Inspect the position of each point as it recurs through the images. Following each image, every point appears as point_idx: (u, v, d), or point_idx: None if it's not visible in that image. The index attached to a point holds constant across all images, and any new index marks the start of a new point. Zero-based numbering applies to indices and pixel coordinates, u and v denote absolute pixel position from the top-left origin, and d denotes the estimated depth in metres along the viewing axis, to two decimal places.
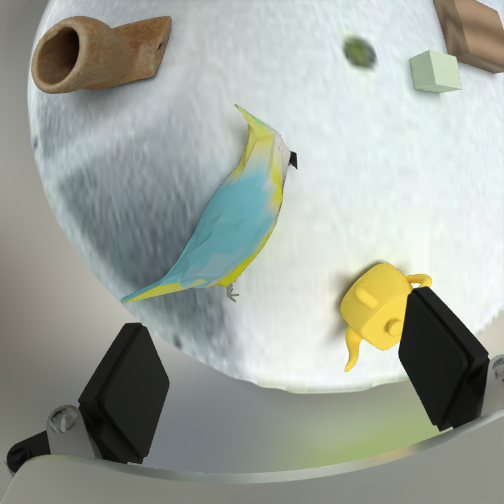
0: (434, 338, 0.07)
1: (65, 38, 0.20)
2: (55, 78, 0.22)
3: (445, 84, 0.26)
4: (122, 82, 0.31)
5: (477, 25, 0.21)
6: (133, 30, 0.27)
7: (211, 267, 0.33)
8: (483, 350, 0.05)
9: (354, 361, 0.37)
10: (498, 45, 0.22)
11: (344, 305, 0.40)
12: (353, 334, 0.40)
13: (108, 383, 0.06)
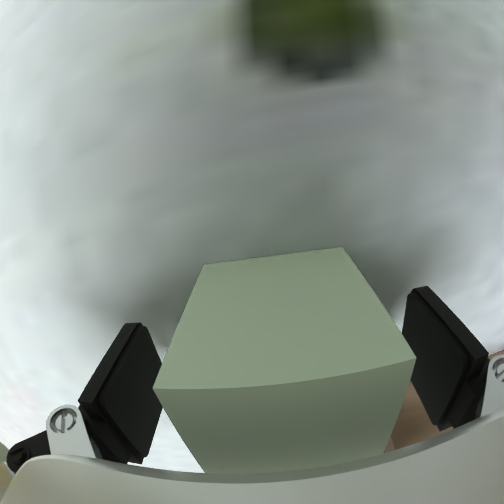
0: (434, 338, 0.07)
1: None
2: None
3: (188, 437, 0.05)
4: None
5: None
6: None
7: None
8: (483, 351, 0.05)
9: None
10: None
11: None
12: None
13: (108, 383, 0.06)
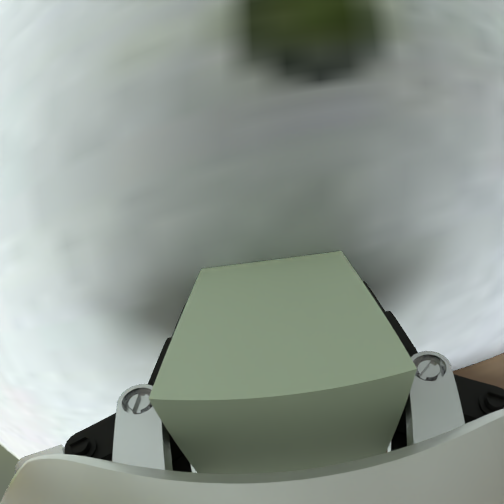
0: None
1: None
2: None
3: (185, 446, 0.05)
4: None
5: None
6: None
7: None
8: None
9: None
10: None
11: None
12: None
13: None
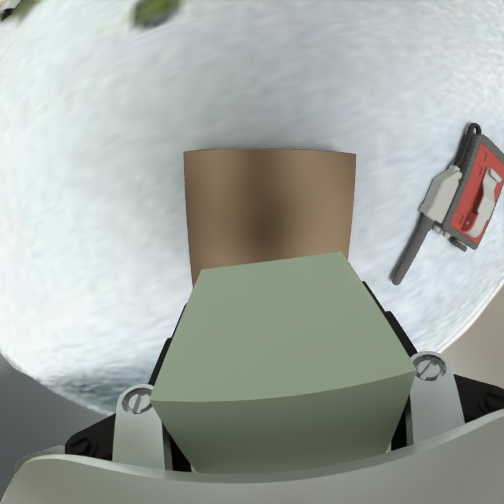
0: None
1: None
2: None
3: (185, 446, 0.05)
4: None
5: (270, 206, 0.20)
6: None
7: None
8: (402, 345, 0.06)
9: None
10: None
11: None
12: None
13: None
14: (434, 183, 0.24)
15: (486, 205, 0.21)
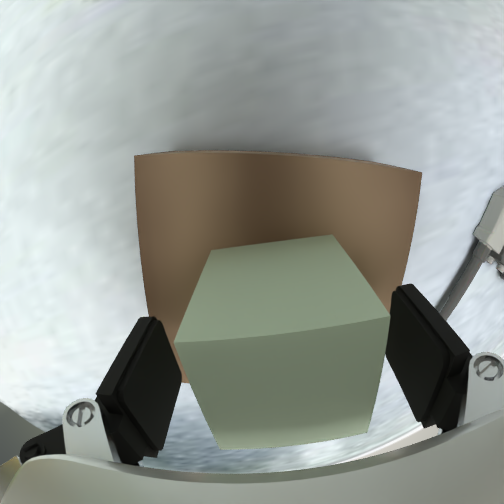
0: (416, 335, 0.07)
1: None
2: None
3: (200, 392, 0.07)
4: None
5: None
6: None
7: None
8: (464, 347, 0.05)
9: None
10: None
11: None
12: None
13: (126, 375, 0.07)
14: (494, 200, 0.15)
15: None
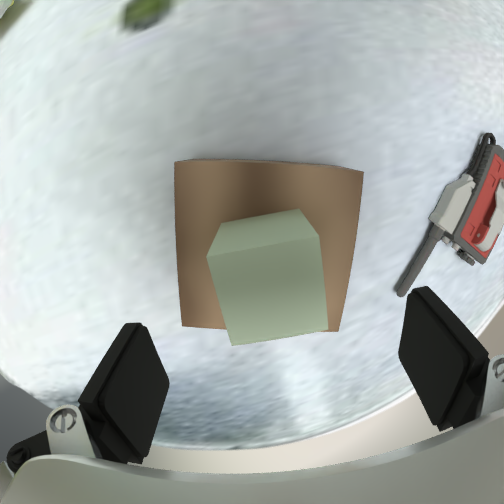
0: (434, 338, 0.07)
1: None
2: None
3: (219, 291, 0.13)
4: None
5: None
6: None
7: None
8: (483, 350, 0.05)
9: None
10: None
11: None
12: None
13: (108, 383, 0.06)
14: (446, 191, 0.22)
15: (498, 218, 0.19)
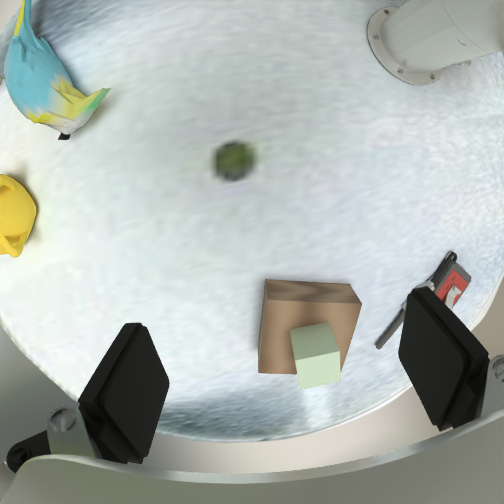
0: (434, 338, 0.07)
1: None
2: None
3: (298, 371, 0.30)
4: None
5: None
6: None
7: (6, 62, 0.20)
8: (483, 351, 0.05)
9: None
10: (288, 356, 0.37)
11: None
12: None
13: (108, 383, 0.06)
14: None
15: None
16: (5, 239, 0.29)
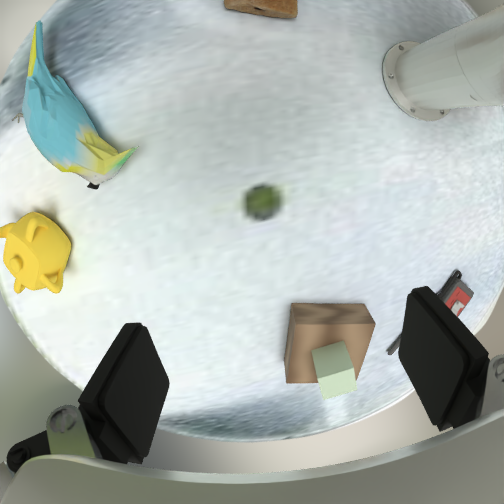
0: (434, 338, 0.07)
1: None
2: None
3: (321, 386, 0.35)
4: None
5: None
6: None
7: (25, 107, 0.25)
8: (483, 350, 0.05)
9: None
10: (312, 368, 0.41)
11: (31, 215, 0.36)
12: None
13: (108, 383, 0.06)
14: None
15: None
16: (45, 277, 0.35)
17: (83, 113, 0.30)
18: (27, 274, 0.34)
